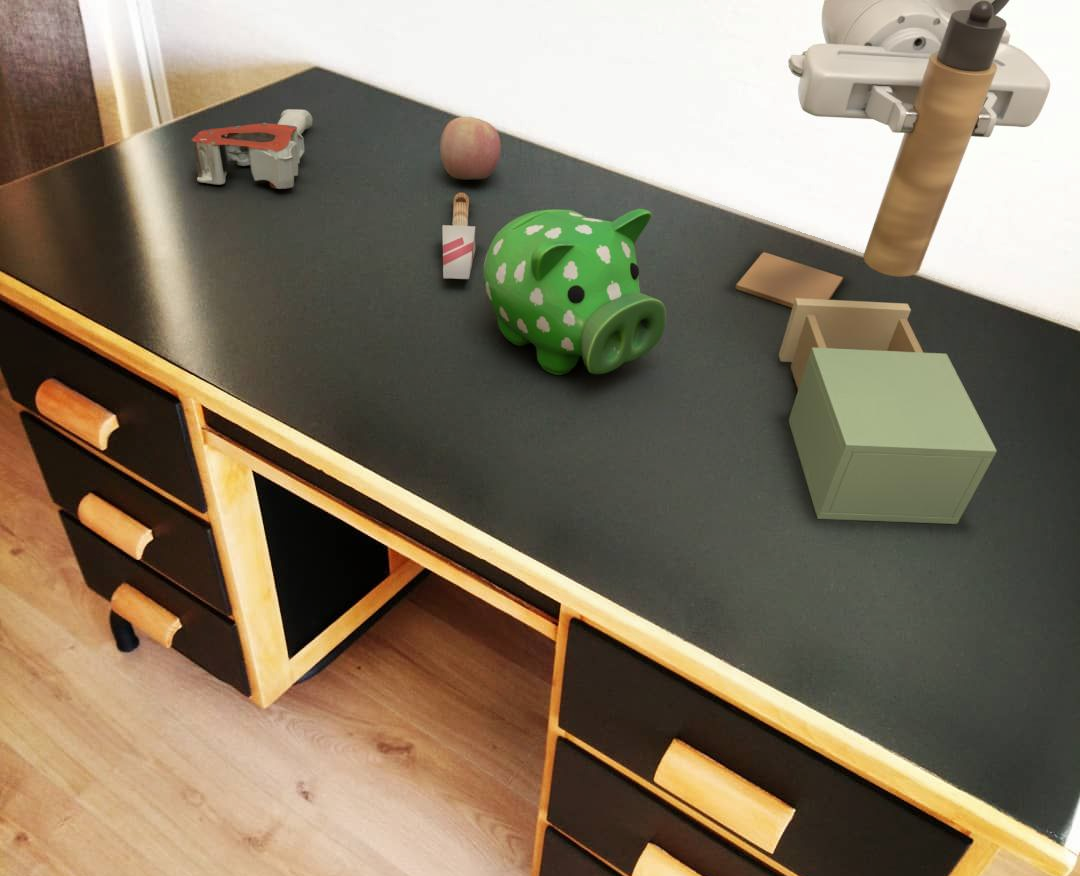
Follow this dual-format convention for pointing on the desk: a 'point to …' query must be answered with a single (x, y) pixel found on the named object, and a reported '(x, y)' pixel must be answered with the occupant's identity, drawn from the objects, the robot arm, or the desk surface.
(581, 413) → the desk surface
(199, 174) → the tape dispenser
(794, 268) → the cork mat
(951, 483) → the cabinet
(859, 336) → the drawer
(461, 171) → the apple
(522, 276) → the piggy bank
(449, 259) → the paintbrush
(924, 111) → the pepper mill
